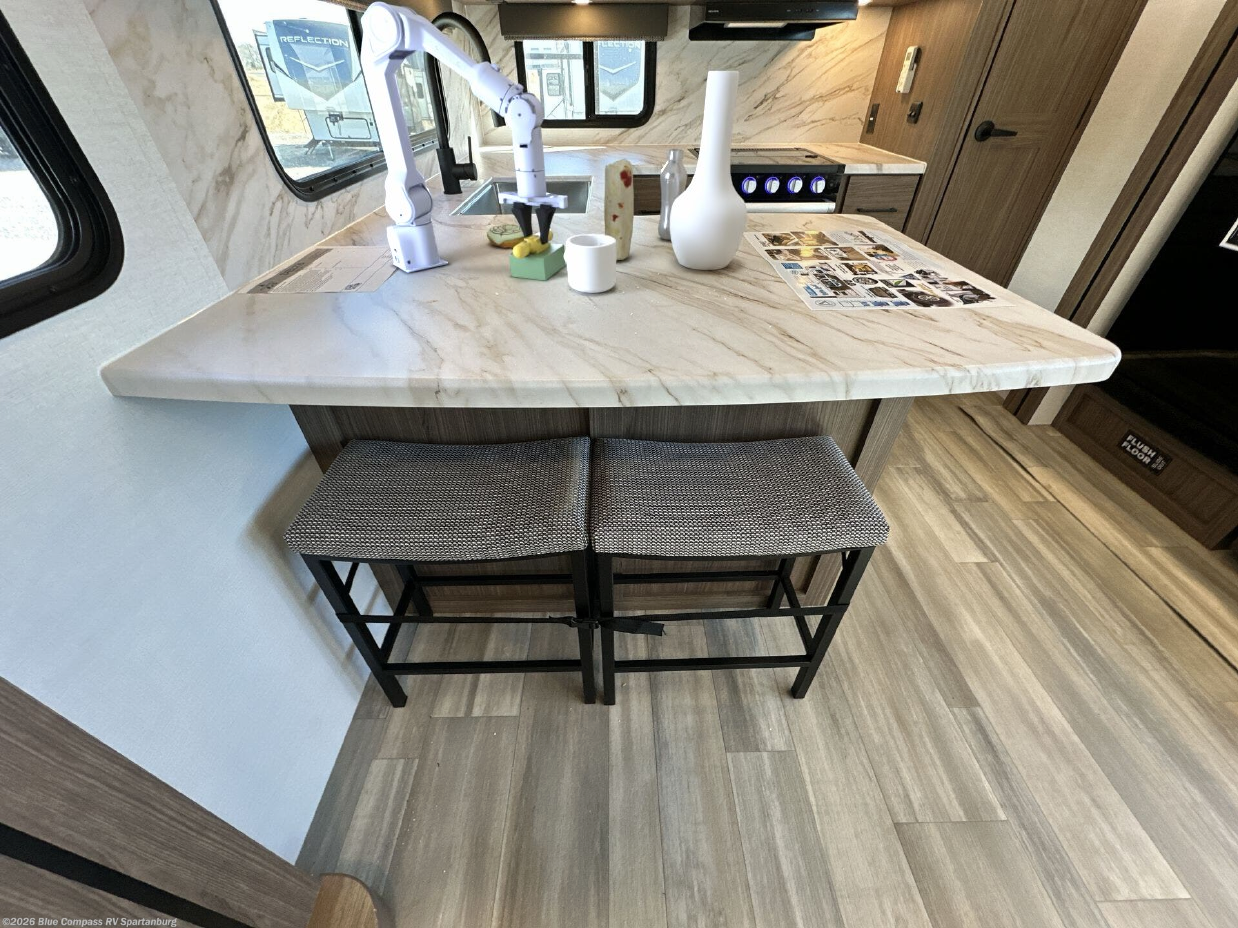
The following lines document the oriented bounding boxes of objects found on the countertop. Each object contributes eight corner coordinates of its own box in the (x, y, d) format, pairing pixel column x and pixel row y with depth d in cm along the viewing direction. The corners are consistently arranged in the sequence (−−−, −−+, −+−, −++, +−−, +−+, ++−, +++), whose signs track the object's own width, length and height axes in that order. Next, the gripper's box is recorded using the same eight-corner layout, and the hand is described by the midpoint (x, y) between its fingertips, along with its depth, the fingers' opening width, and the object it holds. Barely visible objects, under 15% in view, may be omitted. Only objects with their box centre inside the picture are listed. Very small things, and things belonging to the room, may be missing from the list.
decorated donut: (496, 251, 122) (494, 235, 120) (483, 241, 130) (480, 225, 127) (536, 245, 126) (535, 229, 124) (521, 236, 134) (519, 220, 131)
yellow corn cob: (526, 261, 102) (525, 245, 100) (510, 259, 103) (508, 243, 101) (559, 240, 114) (558, 226, 112) (543, 239, 115) (542, 225, 113)
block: (545, 280, 106) (543, 258, 103) (511, 276, 108) (508, 254, 105) (565, 265, 114) (564, 244, 112) (533, 262, 116) (531, 241, 113)
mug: (582, 273, 110) (580, 228, 104) (626, 279, 107) (627, 233, 101) (557, 291, 101) (554, 243, 95) (605, 298, 98) (604, 249, 93)
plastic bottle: (683, 242, 130) (691, 152, 117) (657, 242, 130) (662, 151, 117) (682, 236, 135) (688, 148, 122) (656, 236, 135) (660, 148, 122)
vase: (659, 253, 122) (670, 70, 100) (725, 251, 124) (749, 71, 102) (677, 276, 109) (693, 71, 87) (750, 272, 111) (784, 71, 89)
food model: (632, 264, 116) (634, 163, 103) (603, 263, 116) (602, 163, 103) (632, 251, 123) (635, 156, 111) (605, 251, 123) (604, 156, 111)
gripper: (487, 171, 98) (497, 244, 106) (556, 175, 94) (560, 250, 103) (504, 165, 103) (512, 236, 111) (570, 169, 100) (573, 242, 108)
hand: (536, 242), depth 107 cm, fingers closed on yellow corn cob, 3 cm apart
